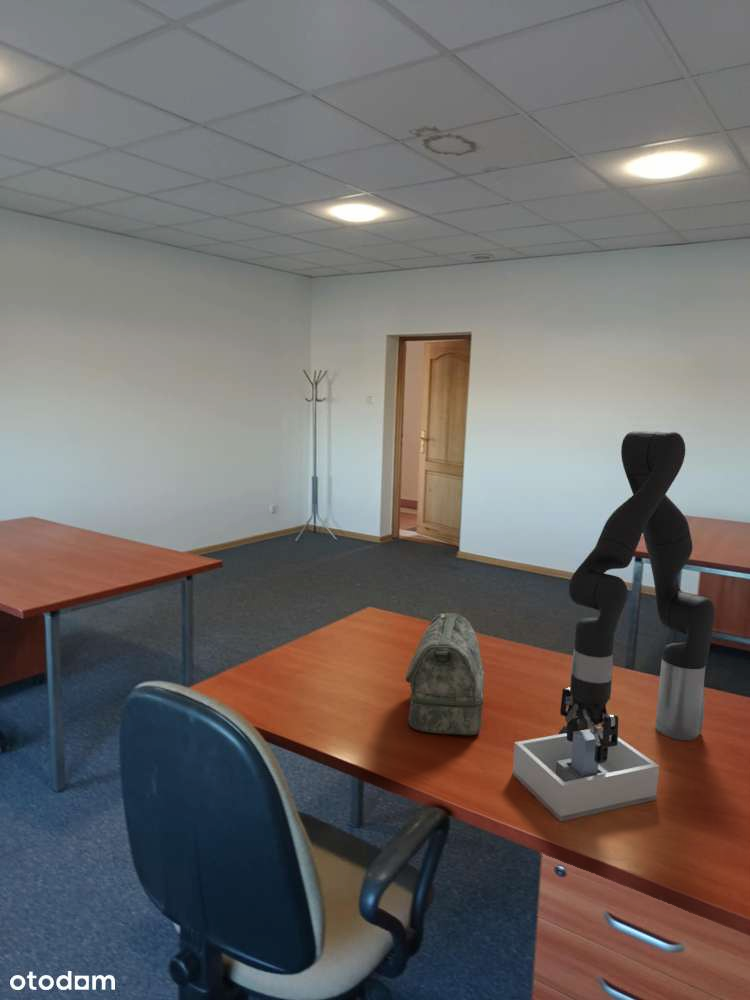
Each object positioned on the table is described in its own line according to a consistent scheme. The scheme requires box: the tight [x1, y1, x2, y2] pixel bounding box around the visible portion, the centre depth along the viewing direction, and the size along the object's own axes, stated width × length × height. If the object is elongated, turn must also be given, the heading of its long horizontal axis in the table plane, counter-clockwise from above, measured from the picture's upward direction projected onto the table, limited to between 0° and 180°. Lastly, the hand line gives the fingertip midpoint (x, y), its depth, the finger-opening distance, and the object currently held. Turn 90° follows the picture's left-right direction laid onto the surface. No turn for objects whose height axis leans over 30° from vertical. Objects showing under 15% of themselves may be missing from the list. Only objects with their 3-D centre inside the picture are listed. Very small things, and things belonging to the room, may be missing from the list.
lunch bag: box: [405, 612, 485, 736], centre depth 158 cm, size 26×18×22 cm
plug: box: [571, 728, 598, 777], centre depth 128 cm, size 4×4×10 cm
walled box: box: [512, 726, 660, 822], centre depth 128 cm, size 22×16×7 cm
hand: (585, 750), depth 128 cm, fingers open, 8 cm apart
